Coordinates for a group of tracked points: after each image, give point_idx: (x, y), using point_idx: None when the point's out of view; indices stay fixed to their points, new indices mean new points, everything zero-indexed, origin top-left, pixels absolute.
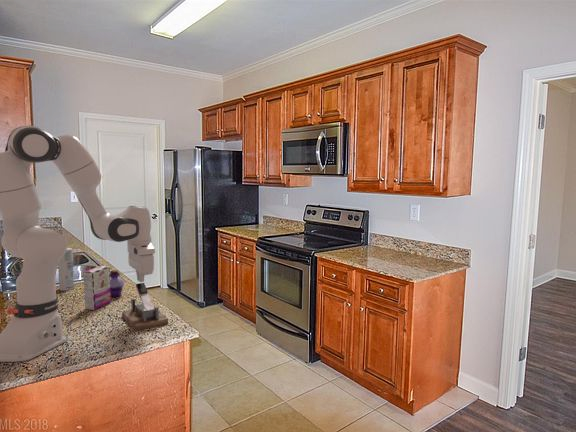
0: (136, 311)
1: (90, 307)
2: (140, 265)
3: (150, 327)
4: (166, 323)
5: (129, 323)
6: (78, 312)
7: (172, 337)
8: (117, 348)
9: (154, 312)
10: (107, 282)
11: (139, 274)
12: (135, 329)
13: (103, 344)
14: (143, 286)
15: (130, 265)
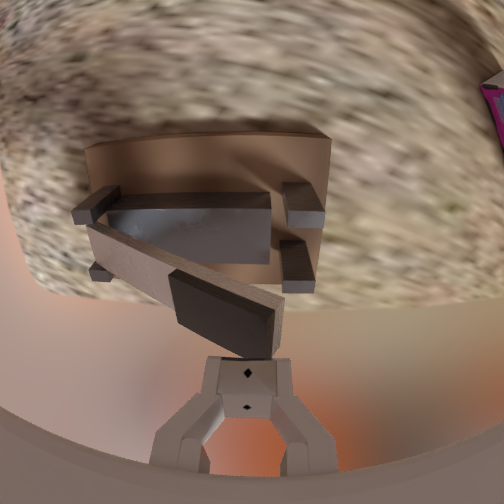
0: (250, 196)
1: (496, 78)
2: (6, 501)
3: None
4: None
5: (189, 133)
6: (485, 33)
7: (23, 235)
8: (7, 77)
9: None
10: None
11: (170, 430)
12: (101, 143)
13: (47, 29)
14: (225, 338)
15: (482, 446)
